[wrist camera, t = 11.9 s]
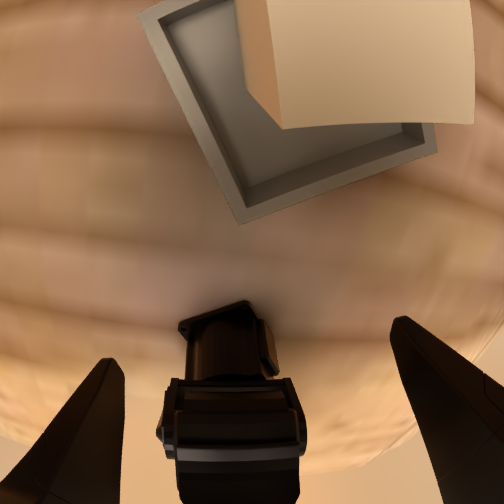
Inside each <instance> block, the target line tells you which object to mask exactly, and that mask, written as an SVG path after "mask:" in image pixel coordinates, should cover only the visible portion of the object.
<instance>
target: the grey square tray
mask: <svg viewBox="0 0 504 504" xmlns="http://www.w3.org/2000/svg"><path fill="white" fill-rule="evenodd" d="M233 3H234V0H164V1H162V2H160V3H158V4H156V5H154V6H152V7H150V8H148V9H146V10H144V11H142V12H140V13H138V14H136V16H137V18H138V20H139V22H140V24H141V26H142V29H143V31H144V33H145V35H146V37H147V39H148V41H149V43H150V45H151V47H152V49H153V51H154V53H155V55H156V57H157V59H158V61H159V63H160V65H161V67H162V70H163V72H164V74H165V76H166V78H167V80H168V82H169V84H170V86H171V88H172V90H173V92H174V94H175V96H176V98H177V100H178V102H179V104H180V106H181V108H182V111H183V113H184V115H185V117H186V119H187V121H188V123H189V125H190V127H191V129H192V131H193V133H194V135H195V137H196V139H197V141H198V143H199V145H200V147H201V149H202V151H203V154H204V156H205V158H206V160H207V162H208V164H209V166H210V168H211V170H212V172H213V174H214V176H215V178H216V180H217V182H218V184H219V186H220V188H221V190H222V192H223V194H224V197H225V199H226V201H227V203H228V205H229V207H230V209H231V211H232V213H233V215H234V217H235V219H236V221H237V223H238V225H239V226H240V225H243V224H245V223H248V222H250V221H253V220H255V219H258V218H260V217H263V216H265V215H268V214H271V213H273V212H276V211H278V210H281V209H283V208H286V207H289V206H291V205H294V204H296V203H299V202H302V201H304V200H307V199H310V198H312V197H315V196H317V195H320V194H323V193H325V192H328V191H331V190H333V189H336V188H339V187H341V186H344V185H347V184H350V183H352V182H355V181H358V180H360V179H363V178H366V177H369V176H371V175H374V174H377V173H380V172H382V171H385V170H388V169H391V168H394V167H396V166H399V165H402V164H405V163H408V162H411V161H413V160H416V159H419V158H422V157H425V156H428V155H431V154H434V153H436V152H437V146H436V139H435V133H434V127H433V123H421V122H394V123H359V124H340V125H325V126H312V127H301V128H291V129H282V128H281V127H280V126H279V125H278V124H277V123H276V122H275V121H274V119H273V118H272V117H271V116H270V115H269V114H268V113H267V112H266V111H265V110H264V108H263V107H262V106H261V105H260V104H259V103H258V102H257V101H256V100H255V99H254V98H253V97H252V95H251V94H250V93H249V92H248V91H247V90H246V89H245V86H244V79H243V72H242V65H241V58H240V51H239V44H238V37H237V30H236V23H235V16H234V10H233Z"/></svg>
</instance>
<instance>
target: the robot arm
mask: <svg viewBox="0 0 504 504" xmlns="http://www.w3.org/2000/svg"><path fill="white" fill-rule="evenodd" d="M243 307H246V308H243ZM182 327H184V328H182ZM178 331H179V332H180V333H181V335H182V336H183V337H184V338H185V340H186V341H187V351H186V366H185V380H183V379H179V378H171V383H170V386H168V388H167V390H166V391H165V397H164V407H163V411H162V414H161V417H160V420H159V423H158V425H157V428H156V436H157V437H158V438H159V440H160V441H161V442H162V443H163V447H164V449H165V454H166V457H167V459H175V466H176V480H177V488H178V491H179V496H180V500H181V501H182V503H183V504H295V503H296V501H297V499H298V497H299V495H300V482H299V456H303V455H304V453H305V451H306V446H307V426H306V420H305V415H304V412H303V409H302V407H301V404H300V402H299V399H298V396H297V394H296V391H295V388H294V386H293V383H292V381H291V378H283V379H274V377H273V376H277V375H278V374H279V372H280V371H279V366H278V360H277V354H276V349H275V343H274V338H273V335H272V334H271V332H270V330H269V328H268V326H267V325H266V323H265V321H264V320H263V319H259V318H258V316H257V314H256V313H255V311H254V309H253V307H252V306H251V304H250V303H249V302H248V301H242V302H239V303H236V304H233V305H230V306H228V307H225V308H222V309H219V310H216V311H213V312H210V313H207V314H204V315H201V316H198V317H195V318H192V319H189V320H186V321H183V322H181V323H179V324H178ZM390 343H391V346H392V350H393V353H394V356H395V360H396V363H397V367H398V371H399V374H400V378H401V381H402V384H403V386H404V389H405V391H406V394H407V397H408V399H409V402H410V404H411V407H412V410H413V412H414V415H415V418H416V420H417V423H418V426H419V429H420V431H421V434H422V437H423V440H424V443H425V445H426V448H427V451H428V454H429V457H430V460H431V463H432V467H433V470H434V473H435V476H436V479H437V481H438V486H439V489H440V493H441V496H442V500H443V503H444V504H504V387H503V386H502V385H500V384H499V383H497V382H496V381H495V380H493V379H492V378H491V377H489V376H488V375H487V374H485V373H484V374H483V371H481V370H480V369H479V368H477V367H476V366H475V365H473V364H472V363H471V362H469V361H468V360H467V359H465V358H464V357H463V356H461V355H460V354H459V353H457V352H456V351H455V350H453V349H452V348H451V347H449V346H448V345H447V344H445V343H444V342H443V341H441V340H440V339H438V338H437V337H436V336H434V335H433V334H432V333H430V332H429V331H427V330H426V329H425V328H423V327H422V326H420V325H419V324H418V323H416V322H415V321H414V320H412V319H411V318H409V317H408V316H400V317H396V318H395V319H394V320H393V324H392V328H391V331H390ZM124 420H125V377H124V373H123V371H122V370H121V368H120V367H119V365H118V364H117V362H116V360H115V359H114V358H102V359H101V360H100V361H99V362H98V363H97V364H96V366H95V367H94V368H93V369H92V371H91V372H90V373H89V374H88V376H87V377H86V378H85V379H84V381H83V382H82V383H81V384H80V386H79V387H78V388H77V389H76V391H75V392H74V393H73V394H72V396H71V397H70V398H69V400H68V401H67V402H66V403H65V405H64V406H63V407H62V408H61V410H60V411H59V412H58V414H57V415H56V416H55V418H54V419H53V420H52V421H51V423H50V424H49V425H48V427H47V428H46V429H45V431H44V433H42V435H41V436H40V437H39V439H38V440H37V441H36V442H35V444H34V445H33V446H32V448H31V449H30V450H29V451H28V452H27V454H26V455H25V456H24V457H23V458H22V459H21V460H20V462H19V463H18V464H17V465H16V466H15V467H14V468H13V469H12V471H11V472H10V473H9V474H8V475H7V476H6V477H5V478H4V479H3V480H2V481H1V482H0V504H120V478H121V460H122V444H123V432H124Z"/></svg>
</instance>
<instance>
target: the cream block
mask: <svg viewBox="0 0 504 504" xmlns="http://www.w3.org/2000/svg"><path fill="white" fill-rule="evenodd" d="M233 10H234V16H235V23H236V30H237V37H238V44H239V51H240V58H241V65H242V72H243V79H244V86H245V89H246V90H247V91H248V92H249V93H250V94H251V95H252V97H253V98H254V99H255V100H256V101H257V102H258V103H259V104H260V105H261V106H262V107H263V108H264V110H265V111H266V112H267V113H268V114H269V115H270V116H271V117H272V118H273V119H274V121H275V122H276V123H277V124H278V125H279V126H280V127H281V128H282V129H291V128H301V127H312V126H325V125H340V124H359V123H394V122H421V123H454V124H472V125H474V106H475V61H474V42H473V29H472V19H471V10H470V3H469V0H234V3H233Z"/></svg>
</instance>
